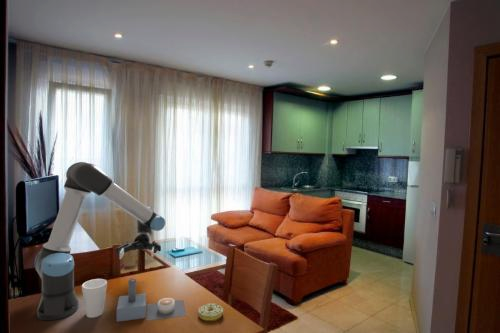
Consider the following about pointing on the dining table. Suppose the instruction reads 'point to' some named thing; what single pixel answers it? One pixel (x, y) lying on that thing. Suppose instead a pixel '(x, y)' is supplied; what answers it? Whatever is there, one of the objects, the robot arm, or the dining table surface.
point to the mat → (155, 315)
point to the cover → (131, 304)
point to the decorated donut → (210, 312)
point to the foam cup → (94, 296)
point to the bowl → (166, 305)
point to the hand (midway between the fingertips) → (136, 255)
